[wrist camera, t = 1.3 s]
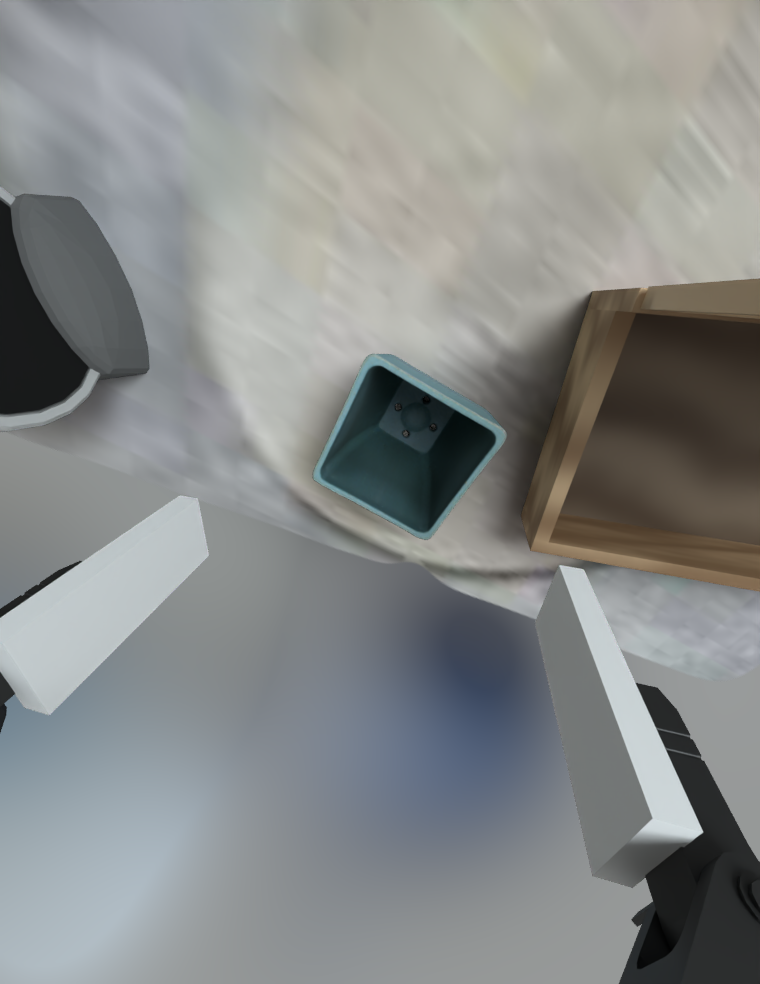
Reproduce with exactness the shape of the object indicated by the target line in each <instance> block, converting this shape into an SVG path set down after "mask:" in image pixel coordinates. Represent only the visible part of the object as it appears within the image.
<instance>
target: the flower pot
mask: <svg viewBox="0 0 760 984" xmlns="http://www.w3.org/2000/svg"><path fill="white" fill-rule="evenodd" d="M425 396H427V397H428V398H429V402H428V403H425V402H423V397H425ZM396 404H401V406H402V408H401V410H396V408H395V405H396ZM432 424H435V425H436V429H435V430H431V429H430V425H432ZM405 430H406V431H408V432H409V436H404V435H403V432H404V431H405ZM506 437H507V433H506V431H505V430H504V429H503V428H502V427H501V425H500V424H499V423H498V422H497V421H496V420H495V419H494V417H493V416H492V415H491V414H490V413H489V412H488V411H487V410H486V409H484V408H483V407H481V406H480V405H478V404H476V403H474V402H473V401H471V400H469V399H467V398H466V397H464V396H462V395H461V394H459V393H457V392H455V391H454V390H452V389H450V388H449V387H447V386H445V385H443V384H442V383H440V382H438V381H437V380H435V379H433V378H432V377H430V376H428V375H427V374H425V373H423V372H421V371H420V370H418V369H416V368H415V367H413V366H411V365H410V364H408V363H406V362H405V361H403V360H401V359H400V358H398V357H396V356H394V355H391V354H371V355H368V356H367V357H366V359H365V360H364V362H363V364H362V366H361V368H360V370H359V373H358V375H357V377H356V379H355V382H354V384H353V386H352V388H351V391H350V393H349V395H348V398H347V400H346V402H345V404H344V407H343V409H342V411H341V413H340V415H339V418H338V419H337V422H336V424H335V426H334V428H333V430H332V432H331V434H330V437H329V439H328V441H327V443H326V445H325V447H324V449H323V451H322V453H321V455H320V458H319V460H318V462H317V464H316V466H315V468H314V470H313V479H314V481H316V482H317V483H319V484H321V485H322V486H324V487H326V488H328V489H330V490H331V491H333V492H335V493H337V494H339V495H341V496H343V497H345V498H347V499H348V500H351V501H353V502H354V503H356V504H358V505H360V506H362V507H364V508H366V509H367V510H369V511H371V512H373V513H375V514H377V515H378V516H380V517H382V518H384V519H386V520H387V521H389V522H391V523H393V524H395V525H397V526H399V527H400V528H402V529H404V530H405V531H407V532H409V533H411V534H412V535H414V536H416V537H418V538H420V539H425V540H428V539H430V538H431V537H432V536H433V535H434V534H435V532H436V531H437V530H438V528H439V527H440V525H441V524H442V523H443V521H444V520H445V519H446V517H447V516H448V515H449V513H450V512H451V510H452V509H453V508H454V507H455V505H456V504H457V503H458V501H459V500H460V499H461V497H462V496H463V495H464V493H465V492H466V491H467V489H468V488H469V487H470V485H471V484H472V483H473V481H474V480H475V479H476V477H477V476H478V475H479V474H480V473H481V471H482V470H483V469H484V467H485V466H486V465H487V464H488V462H489V461H490V460H491V459H492V457H493V456H494V455H495V454H496V453H497V451H498V450H499V449H500V448H501V447H502V445H503V443H504V442H505V440H506Z"/></svg>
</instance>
